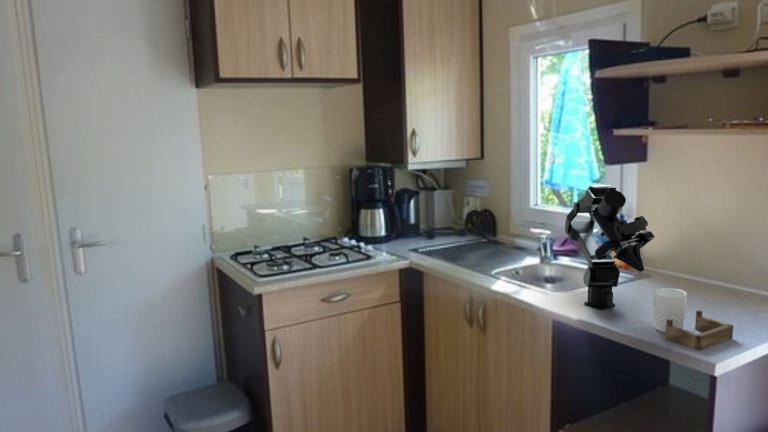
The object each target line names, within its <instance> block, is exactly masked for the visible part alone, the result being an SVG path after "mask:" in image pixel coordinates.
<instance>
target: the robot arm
mask: <svg viewBox="0 0 768 432" xmlns="http://www.w3.org/2000/svg"><path fill="white" fill-rule="evenodd" d="M626 201H627V199H626V196H625V195H624V194H623V192H621V191H619V190H617V187H616V186H612V184H608V185H607V184H604V185H603V184H602V185H601V184H600V185H589V186H588V187H587V189H586V190H585V196H583V197H581V198H579V200H576V201H574V202H573V206H572V209H571V210H570V211H569V213H568V214H566V217H565V222H564V223H565V225H564V231H565V234H566V235H567V237H568V238H569V239H570V240H571V241H574V242H576V243H577V244H578V246H579V247H580V250H581V252H582V254H583V256H584V258H585V260H586V262H587V268H586V269H585V271H584V274H583V276H582V281H583V285H585V286H586V287H587V301H584V302H583V305H585V306H588V307H591V308H595V309H598V310H605V309H609V308H612V307H615V306H616V303H614V291H613V287H614V288H617V287H618V285H619V280H620V273H621V272H620V269H619V266H617V264H616V261H615V260H616V259H617V260H619V261H620V262H622V263H624V264H626V265H627V266H629V267H631V268H633V269H635V271H637V272H639V273H641V272H644V271H645V268H644V267H645V266H644V262H643V260H642V259H643V258H642V257H641V249H642V248H643V247H645V246H646V245H648V244H649V243H650V242H651V241H652V240H653V239H655V237H656V236H655V235H654V234H653V232H652V231H650V230H647V227H648V225H649V221H648V220H647V219H646V218H645V217H644V216H643V215H641V216H637V217H635V218H633V219H634V221H630V222H627V221H626V220H624V219H623V220H621V219H620V218H619V214H620V212H621V210H622V209H623V208H624V207H625V204H626ZM578 214H589V217H590V218H589V219H587V218H586V219H585V218H582V219H581V218H580V219H575V218H576V217H577V216H578ZM595 223H596V224H597V225H598V228H600V231H602V232H601V233H600V236H601V237H602V238H604V237H606V238H607V239H606V240H607V241H604V242H603V243H601V244H600V245H599V246H598V244H597V241H596V240H595V238H594V236H593V232H594V228H595ZM612 252H614V254H615V255H614V256H613V255H611V254H609V253H612ZM614 259H615V260H614Z"/></svg>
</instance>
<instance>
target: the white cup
mask: <svg viewBox="0 0 768 432" xmlns="http://www.w3.org/2000/svg"><path fill="white" fill-rule="evenodd" d="M652 293H653V298H652V299H653V301H652V302H653V303H652V305H653V306H652V307H653V319H654V329H655V330H657V331H659V332H662V333H665V334H666V322H667V320H668V319H670V320H673V326H674V327H678V328H681V329H684V321H685V316H686V309H687V307H686V306H687V298H688V293H687V292H686V291H684V290H681V289H677V288H674V287H673V288H672V287H671V288H669V287H660V288H655V289H654V290H653V292H652Z"/></svg>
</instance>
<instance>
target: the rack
mask: <svg viewBox="0 0 768 432" xmlns="http://www.w3.org/2000/svg"><path fill="white" fill-rule="evenodd" d="M694 323H695V325H694V329H695V330H697V331H700V332H701V333H696V332H694V331H690V330H687V329H684V328H683V329H681V328H678V327H674V326H673V320H670V319H668V320H667V322H666V333H665V337H664V338H665V340H667V341H670V342H674V343H676V344H678V345H682V346H684V347H688V348H690V349H693V350H696V351H699V352H701V351H703V350H706V349H708V348H711V347H713V346H716V345H720V344H723V343H724V342H727V341H730V340H732V339H733V334H734V324H730V323H726V322H722V321H720V320H717V319H713V318H710V317H706V316H703V310H700V309H698V310H696V313H695V322H694Z"/></svg>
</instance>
